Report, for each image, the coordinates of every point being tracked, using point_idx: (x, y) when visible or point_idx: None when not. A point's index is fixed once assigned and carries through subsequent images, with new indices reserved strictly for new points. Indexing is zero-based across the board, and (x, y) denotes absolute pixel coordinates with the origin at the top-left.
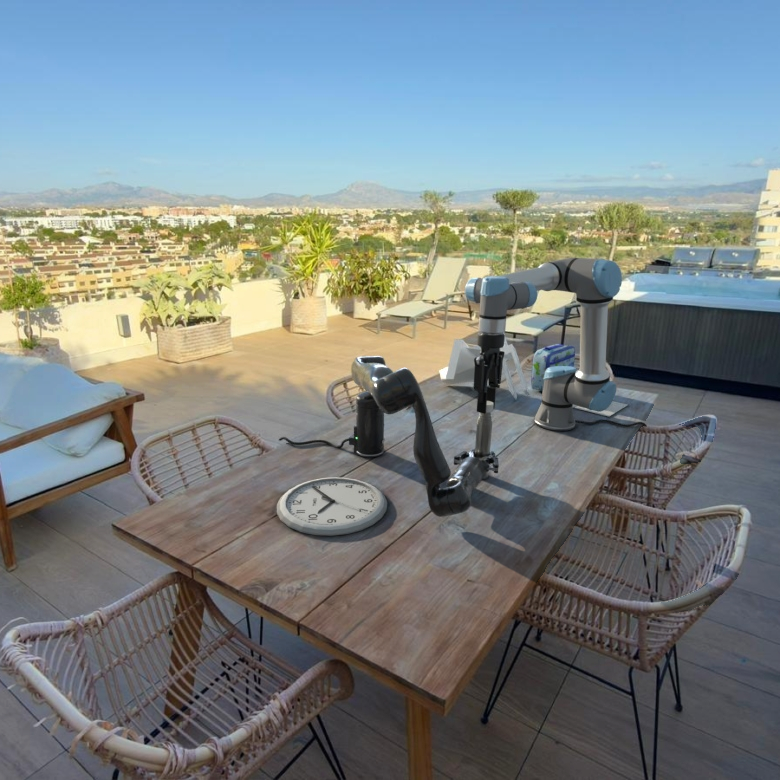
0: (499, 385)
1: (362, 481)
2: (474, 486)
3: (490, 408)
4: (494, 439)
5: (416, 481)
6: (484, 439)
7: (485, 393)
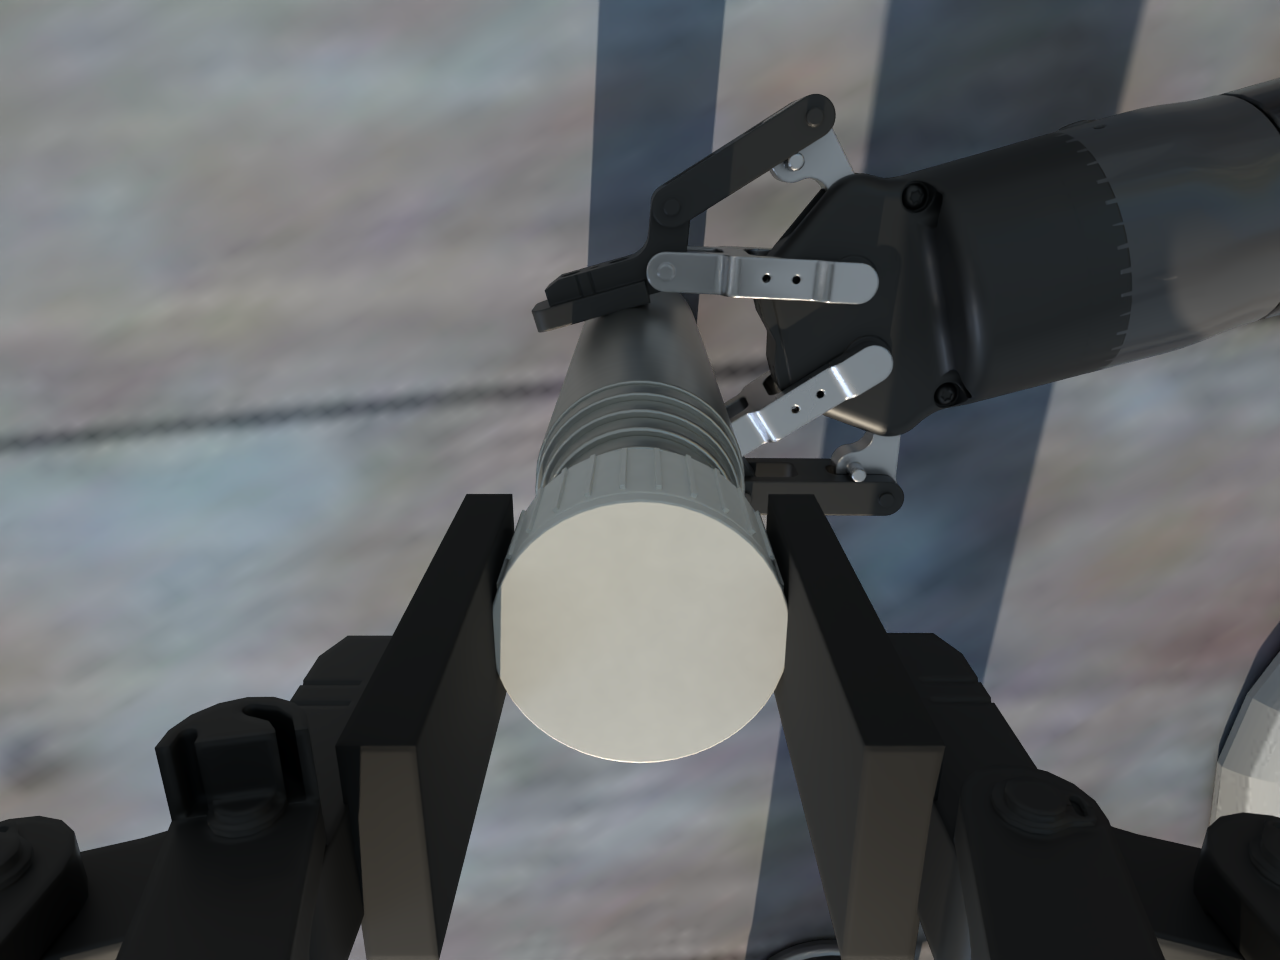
0: (171, 752)
1: (1252, 806)
2: (1270, 80)
3: (694, 482)
4: (3, 584)
5: (999, 604)
6: (708, 374)
7: (928, 740)
